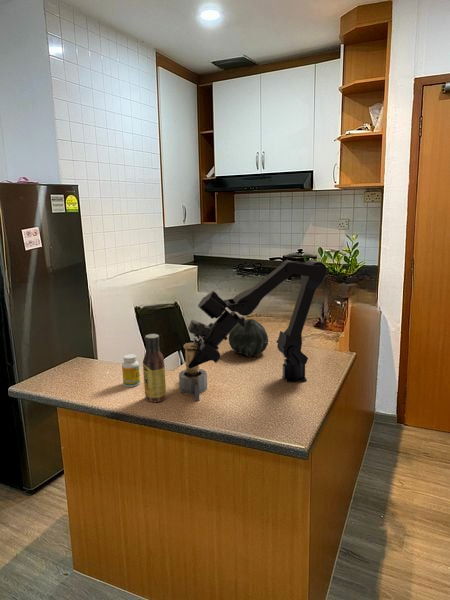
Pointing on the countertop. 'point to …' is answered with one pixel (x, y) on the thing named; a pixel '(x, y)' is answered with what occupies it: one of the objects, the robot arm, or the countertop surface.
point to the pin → (190, 353)
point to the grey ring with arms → (193, 383)
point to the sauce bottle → (154, 370)
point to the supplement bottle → (130, 371)
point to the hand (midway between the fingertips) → (188, 364)
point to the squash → (248, 338)
